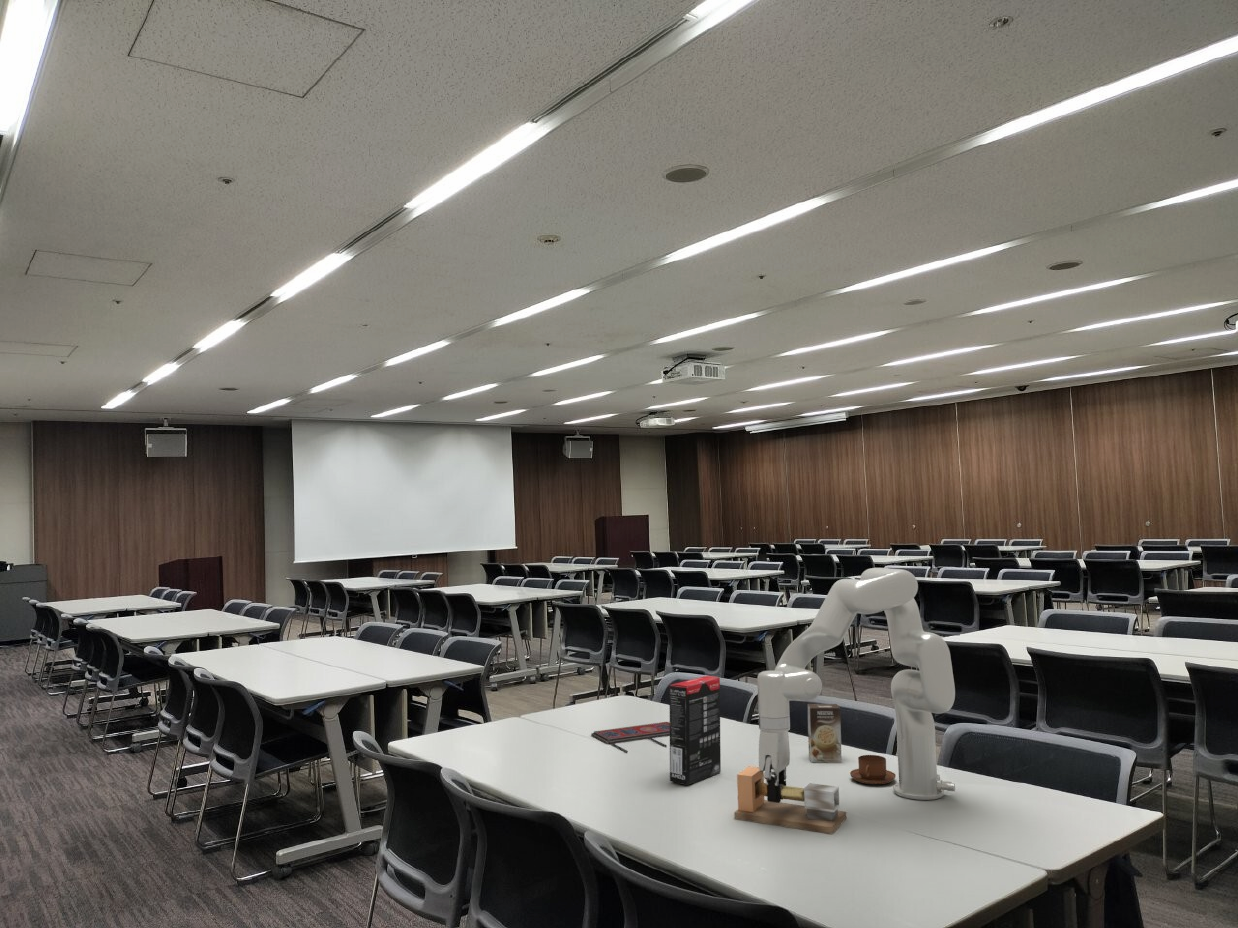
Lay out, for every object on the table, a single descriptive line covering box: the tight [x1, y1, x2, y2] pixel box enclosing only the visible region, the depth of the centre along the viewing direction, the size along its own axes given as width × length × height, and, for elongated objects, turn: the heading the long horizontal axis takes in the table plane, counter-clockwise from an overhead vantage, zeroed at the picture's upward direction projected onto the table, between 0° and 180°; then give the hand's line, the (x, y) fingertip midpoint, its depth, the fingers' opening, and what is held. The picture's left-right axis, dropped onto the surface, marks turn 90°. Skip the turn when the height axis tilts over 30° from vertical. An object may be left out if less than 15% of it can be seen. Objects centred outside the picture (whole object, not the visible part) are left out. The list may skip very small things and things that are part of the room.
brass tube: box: [755, 782, 805, 803], centre depth 211 cm, size 16×4×4 cm, turn 60°
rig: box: [733, 782, 847, 835], centre depth 210 cm, size 24×12×8 cm, turn 60°
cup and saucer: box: [849, 754, 897, 785], centre depth 238 cm, size 12×12×6 cm
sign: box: [590, 721, 670, 753], centre depth 291 cm, size 27×2×30 cm
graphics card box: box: [668, 675, 722, 786], centre depth 246 cm, size 17×7×27 cm, turn 141°
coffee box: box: [807, 703, 843, 764], centre depth 261 cm, size 9×6×16 cm
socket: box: [736, 765, 765, 812], centre depth 215 cm, size 4×8×8 cm, turn 150°
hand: (777, 798), depth 211 cm, fingers closed on brass tube, 3 cm apart
